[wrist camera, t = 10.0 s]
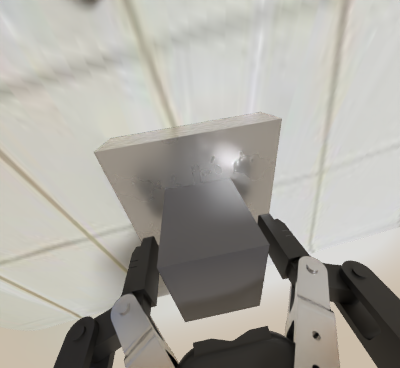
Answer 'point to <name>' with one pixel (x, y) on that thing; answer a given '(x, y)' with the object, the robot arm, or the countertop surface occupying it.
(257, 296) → the plug
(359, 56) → the countertop surface
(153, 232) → the socket plate
